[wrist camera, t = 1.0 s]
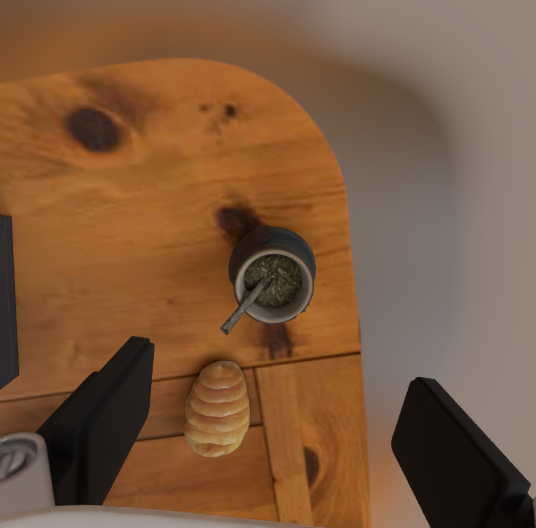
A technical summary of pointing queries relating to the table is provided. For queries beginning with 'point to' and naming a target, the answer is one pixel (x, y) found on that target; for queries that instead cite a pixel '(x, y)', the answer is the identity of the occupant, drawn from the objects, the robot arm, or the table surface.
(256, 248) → the mate gourd
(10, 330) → the trash bin
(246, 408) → the pastry
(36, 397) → the table surface
